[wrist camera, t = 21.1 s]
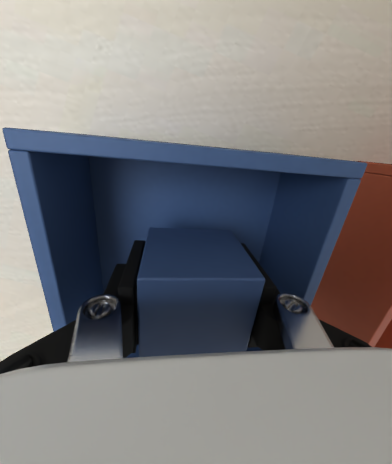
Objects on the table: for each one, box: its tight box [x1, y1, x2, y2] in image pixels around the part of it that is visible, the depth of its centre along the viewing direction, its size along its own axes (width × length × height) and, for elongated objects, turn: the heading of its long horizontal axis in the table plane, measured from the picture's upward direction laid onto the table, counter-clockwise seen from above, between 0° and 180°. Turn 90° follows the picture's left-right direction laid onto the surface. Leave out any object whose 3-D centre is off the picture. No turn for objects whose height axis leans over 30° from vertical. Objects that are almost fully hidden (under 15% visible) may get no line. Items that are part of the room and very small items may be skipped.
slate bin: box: [3, 128, 367, 358], centre depth 12 cm, size 12×12×6 cm
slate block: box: [137, 227, 265, 357], centre depth 10 cm, size 4×4×4 cm
